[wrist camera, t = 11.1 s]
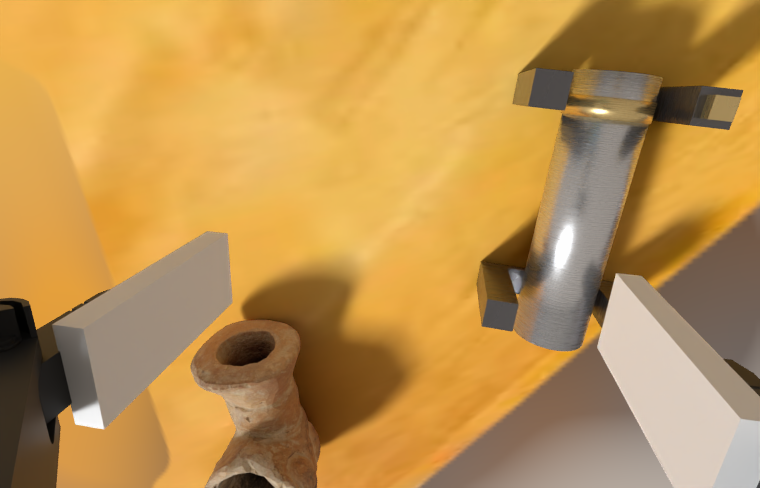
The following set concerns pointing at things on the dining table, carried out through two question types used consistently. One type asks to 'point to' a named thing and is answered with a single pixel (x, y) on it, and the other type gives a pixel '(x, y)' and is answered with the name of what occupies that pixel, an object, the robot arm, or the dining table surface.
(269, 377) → the pipe
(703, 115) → the collar near
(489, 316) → the collar far
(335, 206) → the dining table surface
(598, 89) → the tube
